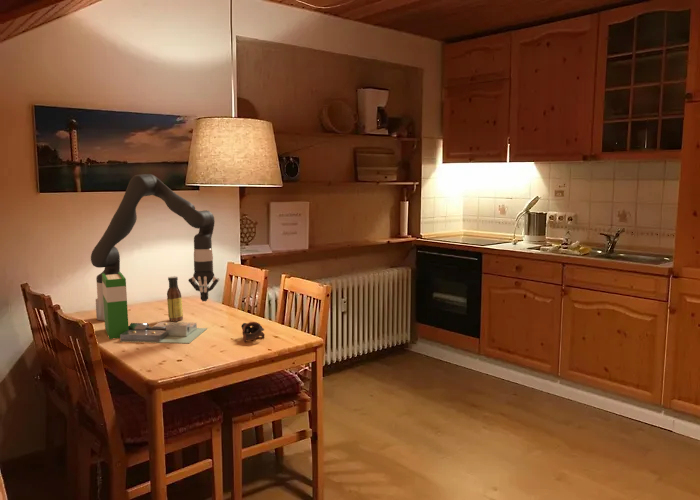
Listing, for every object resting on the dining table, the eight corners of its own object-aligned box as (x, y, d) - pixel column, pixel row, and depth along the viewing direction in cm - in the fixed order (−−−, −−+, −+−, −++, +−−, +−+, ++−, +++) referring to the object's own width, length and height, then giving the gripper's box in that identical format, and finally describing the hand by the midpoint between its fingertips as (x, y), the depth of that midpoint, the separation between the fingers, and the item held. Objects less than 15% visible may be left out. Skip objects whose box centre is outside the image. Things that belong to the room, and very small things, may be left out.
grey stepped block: (118, 340, 235) (117, 329, 234) (131, 332, 247) (131, 321, 246) (161, 341, 233) (161, 330, 233) (173, 333, 245) (172, 322, 245)
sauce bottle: (185, 318, 271) (183, 275, 269) (179, 322, 265) (178, 278, 262) (171, 318, 272) (169, 275, 269) (165, 321, 266) (164, 278, 263)
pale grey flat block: (148, 335, 242) (147, 324, 241) (160, 327, 254) (159, 317, 253) (186, 336, 240) (186, 325, 240) (196, 328, 252) (196, 318, 252)
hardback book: (105, 328, 253) (101, 273, 250) (123, 326, 257) (120, 272, 253) (109, 339, 238) (105, 280, 234) (129, 336, 241) (125, 278, 238)
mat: (119, 341, 234) (119, 341, 234) (143, 327, 256) (143, 326, 256) (189, 343, 232) (189, 342, 232) (207, 328, 254) (207, 328, 254)
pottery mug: (271, 339, 240) (267, 325, 235) (254, 354, 234) (250, 339, 229) (250, 327, 246) (247, 313, 241) (234, 341, 241) (229, 327, 236)
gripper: (184, 260, 240) (185, 302, 242) (216, 260, 239) (217, 303, 241) (190, 258, 247) (192, 298, 249) (221, 258, 246) (222, 299, 248)
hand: (204, 300), depth 245 cm, fingers closed
